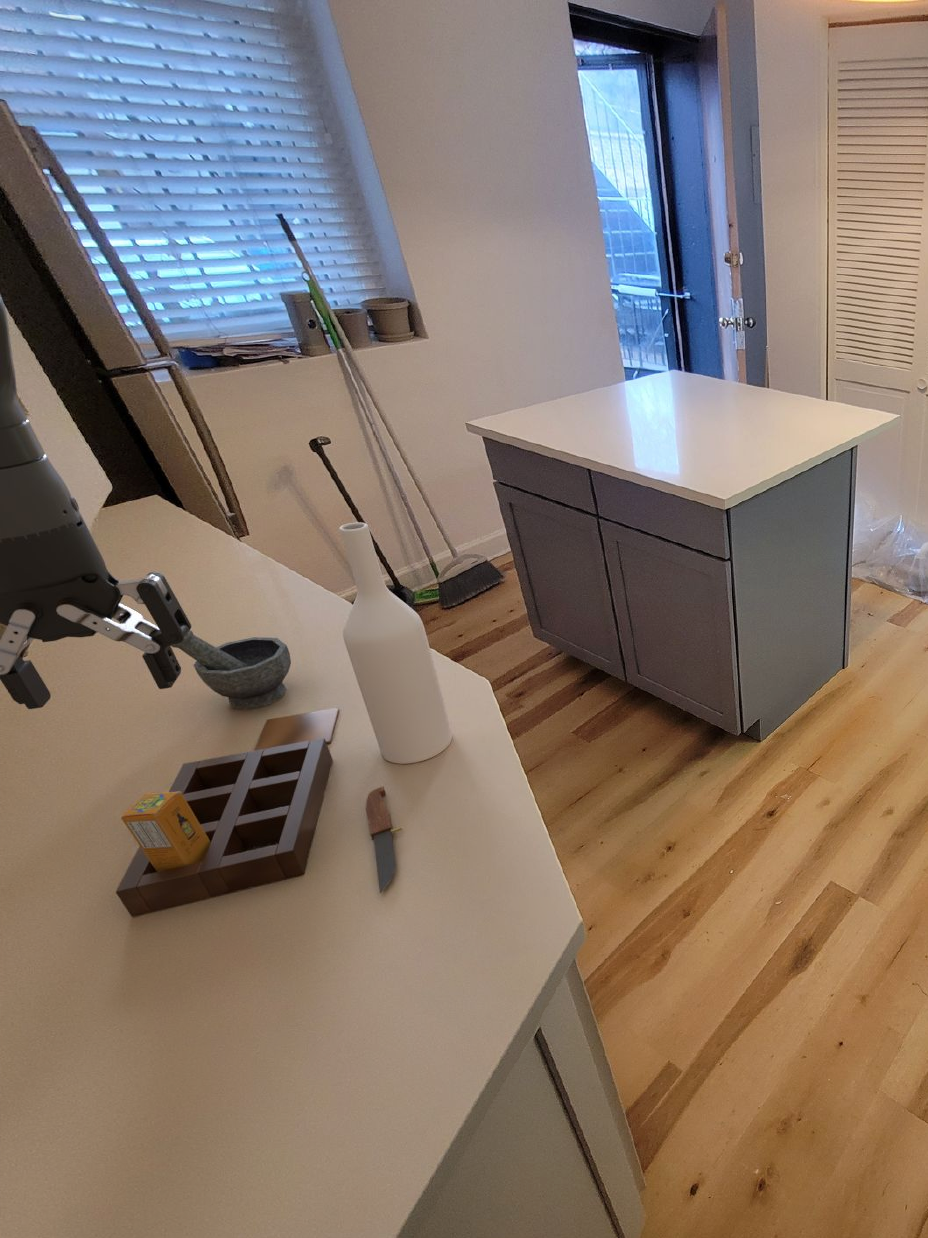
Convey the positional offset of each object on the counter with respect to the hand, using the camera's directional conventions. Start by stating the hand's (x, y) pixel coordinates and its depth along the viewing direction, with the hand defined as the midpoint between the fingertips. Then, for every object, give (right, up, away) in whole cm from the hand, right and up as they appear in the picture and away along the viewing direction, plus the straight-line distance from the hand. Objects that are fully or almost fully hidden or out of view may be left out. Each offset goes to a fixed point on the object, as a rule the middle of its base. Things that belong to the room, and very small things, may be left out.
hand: (107, 693), depth 61 cm
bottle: (+10, -9, +28) cm, 32 cm away
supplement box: (0, -20, +9) cm, 21 cm away
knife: (+16, -17, +14) cm, 27 cm away
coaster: (-6, -8, +29) cm, 31 cm away
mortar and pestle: (-17, -4, +35) cm, 39 cm away
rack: (0, -16, +14) cm, 22 cm away
